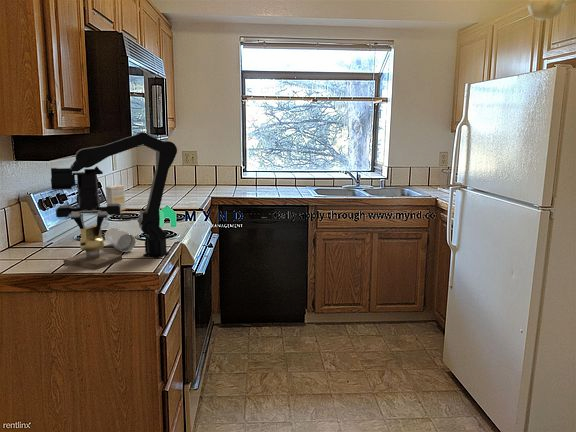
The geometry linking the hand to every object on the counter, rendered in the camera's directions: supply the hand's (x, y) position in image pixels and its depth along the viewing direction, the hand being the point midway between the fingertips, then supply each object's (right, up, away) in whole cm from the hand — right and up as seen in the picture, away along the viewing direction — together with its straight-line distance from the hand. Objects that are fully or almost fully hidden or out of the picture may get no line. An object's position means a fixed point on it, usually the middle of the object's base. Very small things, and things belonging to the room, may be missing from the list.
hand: (91, 236), depth 149 cm
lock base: (0, -8, +2) cm, 8 cm away
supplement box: (-26, +9, +92) cm, 96 cm away
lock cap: (0, -4, 0) cm, 4 cm away
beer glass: (-2, -1, +24) cm, 25 cm away
